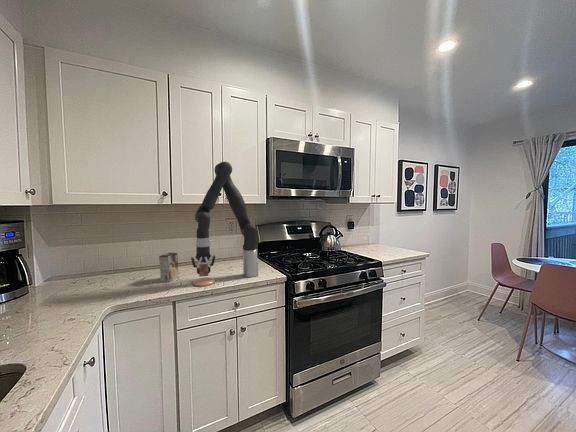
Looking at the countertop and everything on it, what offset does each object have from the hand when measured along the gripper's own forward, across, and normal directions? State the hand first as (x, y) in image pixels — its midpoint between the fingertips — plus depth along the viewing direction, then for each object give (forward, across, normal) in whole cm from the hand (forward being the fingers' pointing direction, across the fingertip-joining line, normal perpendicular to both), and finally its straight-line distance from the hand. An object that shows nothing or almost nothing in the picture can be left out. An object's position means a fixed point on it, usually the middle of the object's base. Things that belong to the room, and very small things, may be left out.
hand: (203, 273), depth 152 cm
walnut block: (+1, 0, 0) cm, 1 cm away
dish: (+6, 0, 0) cm, 6 cm away
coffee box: (+6, +20, -15) cm, 26 cm away
